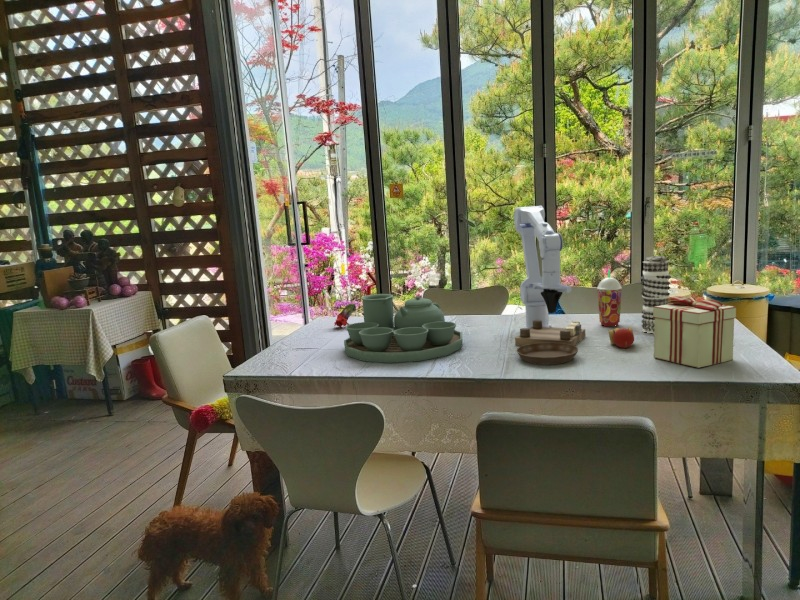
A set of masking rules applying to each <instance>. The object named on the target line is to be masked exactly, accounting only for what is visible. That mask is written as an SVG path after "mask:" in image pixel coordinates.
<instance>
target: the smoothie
mask: <svg viewBox="0 0 800 600" xmlns="http://www.w3.org/2000/svg"><path fill="white" fill-rule="evenodd" d="M607 273H608V274H607V277H604V278H602V279H601V281H599V283H598V285H597V287H596V290H597V302H598V315H599V316H598V317H599V323H600V325H601V326H602V325H604V326H603V327H606V326H614V327H616V326H615V325H617V326H618V325H619V323H620V322H621V321H620V320H621V309H622V308H621V307H622V305H621V304H622V291H623V287H622V286H621V283H620V281H619V280H617V278H614V277H612V276H611V269H608V272H607Z"/></svg>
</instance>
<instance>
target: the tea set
mask: <svg viewBox="0 0 800 600" xmlns="http://www.w3.org/2000/svg"><path fill="white" fill-rule="evenodd" d="M394 296H395V295H393V294H389V293H379V294H377V293H376V294H366V295H364V296H361V298H360V299H361V300H362V311H363V321H362V322H355V323H349V324H350V325H346V326H345V330H346V331H347V333H348V338H346V339H344V340H343V345H344V346H343V347H344V349H345V354H346V355H347V356H348V357H351V358H353V359H357V360H360V361H362V362H370V363H371V362H373V363H382V364H383V363H385V364H395V363H396V364H397V363H412V362H413V361H414V362H423V361H427V360H432V359H437V357H438V358H442V357H447V356H449V355H451V354H452V353H454V352H456V351H459V350H461V349H462V347H463V332H462V331H459V330H456V327H457V323H455V322H452V321H446V320H445V314H444V312H443V310H441V307H440V305H439V303H437V302H433V301H432V300H431V299H429V298H424V297H421V296H420V295H417V296H415V298H410V299H406V300H405V302H404V303H403V304H404V305H403V306H400V307H399V309H398V310H397V311H396V312H395V315H394V307H393V298H394ZM414 362H413V363H414Z"/></svg>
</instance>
